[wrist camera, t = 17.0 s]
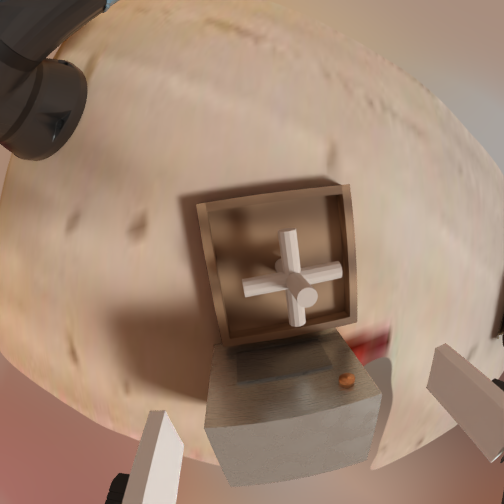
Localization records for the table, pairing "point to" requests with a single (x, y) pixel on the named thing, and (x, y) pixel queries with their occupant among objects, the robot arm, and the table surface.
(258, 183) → the table surface
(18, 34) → the robot arm
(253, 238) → the tray
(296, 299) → the pipe connector
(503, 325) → the black oval piece
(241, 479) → the box
